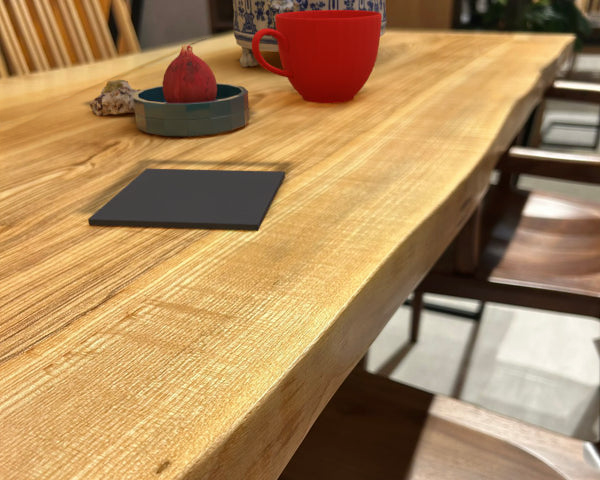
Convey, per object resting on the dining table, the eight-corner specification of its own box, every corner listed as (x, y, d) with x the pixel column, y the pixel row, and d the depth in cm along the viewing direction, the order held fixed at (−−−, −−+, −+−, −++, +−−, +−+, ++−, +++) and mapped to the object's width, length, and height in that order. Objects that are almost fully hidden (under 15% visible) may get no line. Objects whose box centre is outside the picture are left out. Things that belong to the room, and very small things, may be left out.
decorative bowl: (372, 79, 94) (376, -35, 87) (201, 76, 99) (192, -32, 92) (393, 44, 131) (397, -39, 124) (267, 43, 136) (264, -36, 129)
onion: (220, 126, 68) (214, 47, 65) (166, 129, 68) (157, 49, 64) (218, 115, 73) (212, 40, 70) (167, 117, 73) (158, 42, 69)
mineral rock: (164, 94, 75) (93, 78, 72) (158, 131, 76) (88, 118, 73) (155, 82, 84) (91, 68, 81) (150, 116, 85) (87, 103, 82)
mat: (88, 225, 44) (87, 218, 44) (147, 174, 55) (146, 168, 55) (258, 231, 43) (257, 224, 43) (285, 177, 53) (284, 171, 53)
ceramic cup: (233, 100, 83) (227, 15, 78) (341, 86, 90) (342, 8, 85) (281, 118, 73) (278, 23, 68) (399, 100, 80) (403, 14, 75)
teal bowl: (120, 138, 66) (115, 103, 64) (158, 112, 77) (154, 82, 75) (235, 139, 65) (233, 104, 63) (257, 113, 75) (256, 82, 74)
